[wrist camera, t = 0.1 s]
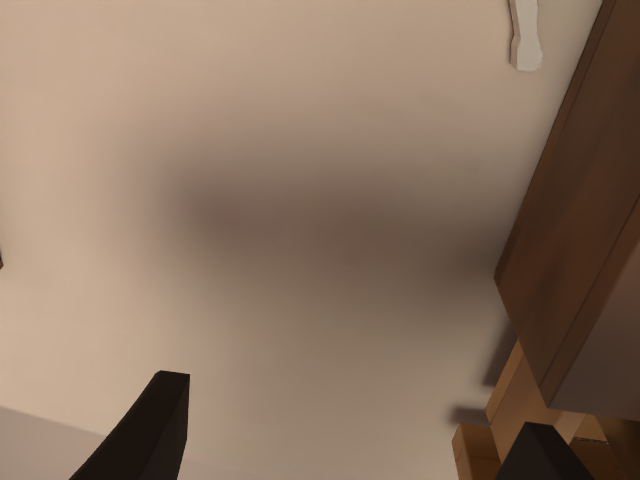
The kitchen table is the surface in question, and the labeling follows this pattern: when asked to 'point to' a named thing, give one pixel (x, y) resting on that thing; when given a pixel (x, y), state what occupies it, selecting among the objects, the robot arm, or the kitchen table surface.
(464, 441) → the drawer
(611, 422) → the metal canister
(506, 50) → the kitchen table surface
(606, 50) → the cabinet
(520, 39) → the scissors
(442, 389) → the kitchen table surface
